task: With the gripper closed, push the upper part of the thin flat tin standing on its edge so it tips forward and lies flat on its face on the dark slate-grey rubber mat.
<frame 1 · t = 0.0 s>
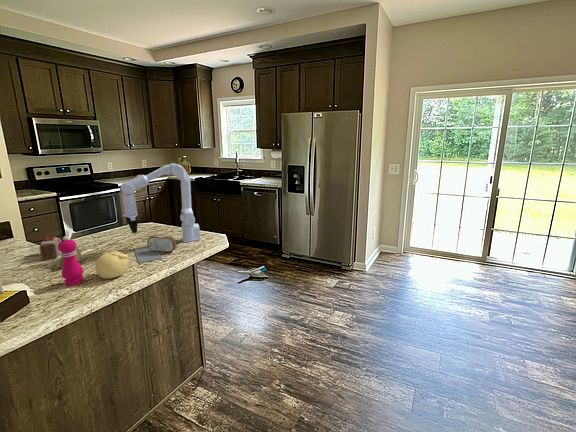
hand: (133, 230, 159), 10 cm above the countertop, fingers open, 7 cm apart
tin: (162, 251, 157), on the countertop, touching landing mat
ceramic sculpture: (72, 263, 144), on the countertop
food item: (52, 255, 154), on the countertop
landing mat: (147, 254, 154), on the countertop
pepper mill: (74, 283, 124), on the countertop
sculpture: (113, 275, 131), on the countertop
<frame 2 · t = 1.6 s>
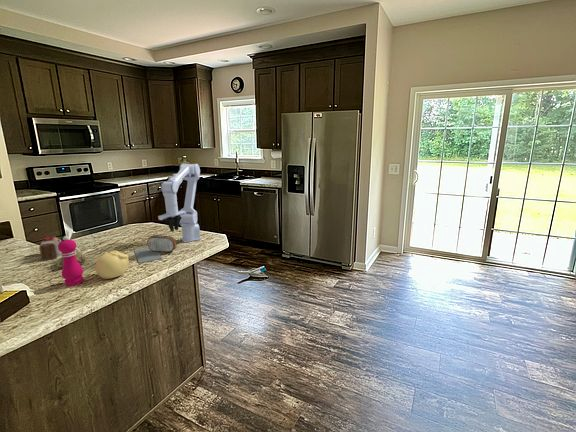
hand: (174, 230, 158), 10 cm above the countertop, fingers closed
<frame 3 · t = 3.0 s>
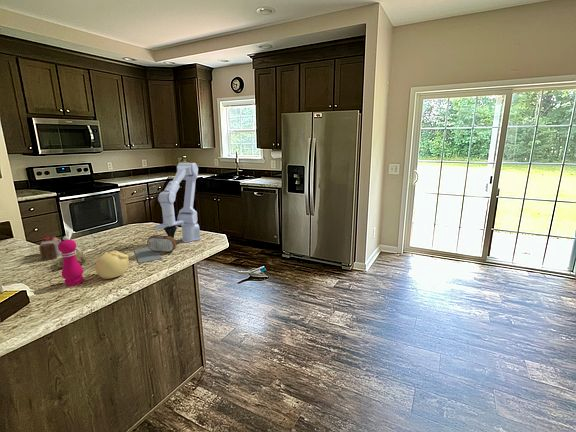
hand: (171, 240, 158), 5 cm above the countertop, fingers closed
tin: (162, 251, 157), on the countertop, touching gripper, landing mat
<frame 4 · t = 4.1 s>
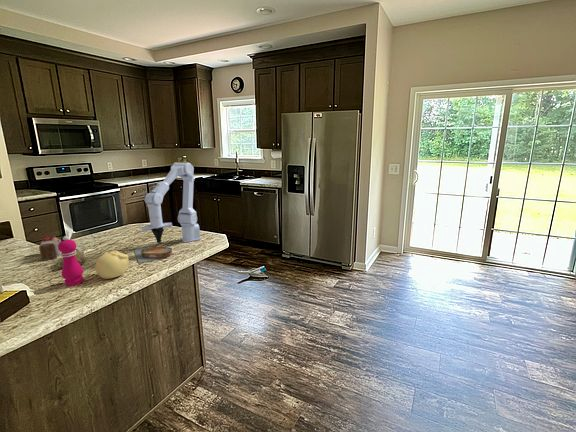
hand: (158, 242, 155), 5 cm above the countertop, fingers closed
tin: (161, 249, 156), point 1 cm above the countertop, touching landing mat
everything else where it was.
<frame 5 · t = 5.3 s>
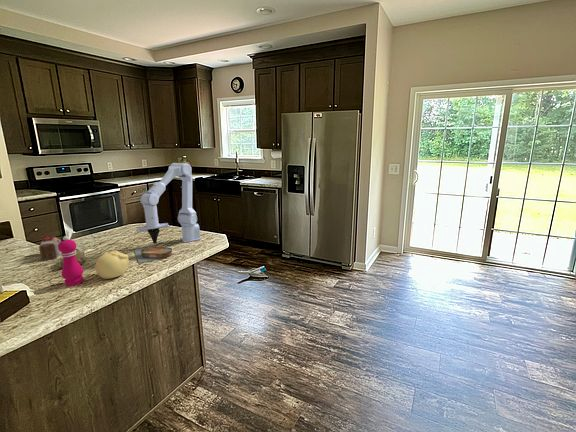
hand: (154, 243, 154), 5 cm above the countertop, fingers closed
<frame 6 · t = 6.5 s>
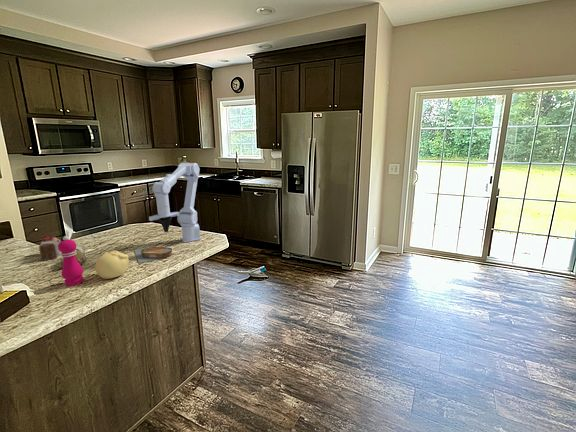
hand: (166, 231, 156), 10 cm above the countertop, fingers closed
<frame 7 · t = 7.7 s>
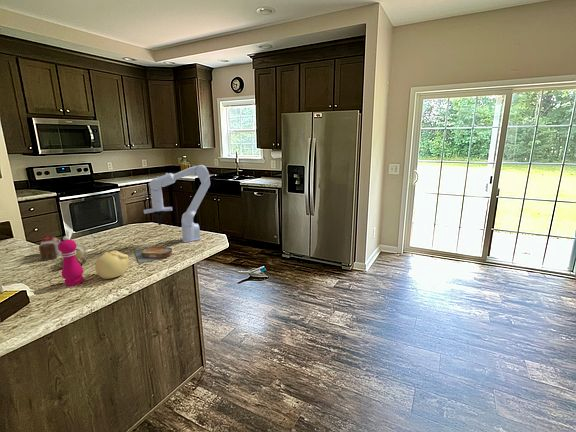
hand: (159, 224, 169), 10 cm above the countertop, fingers closed
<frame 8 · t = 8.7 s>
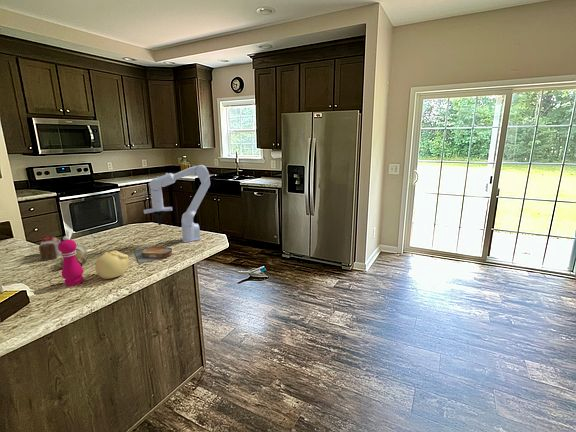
hand: (159, 224, 169), 10 cm above the countertop, fingers closed
at the end: tin tilted 86°; tin inside the target area (1.7 cm from its centre), point 1.3 cm above the countertop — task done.
